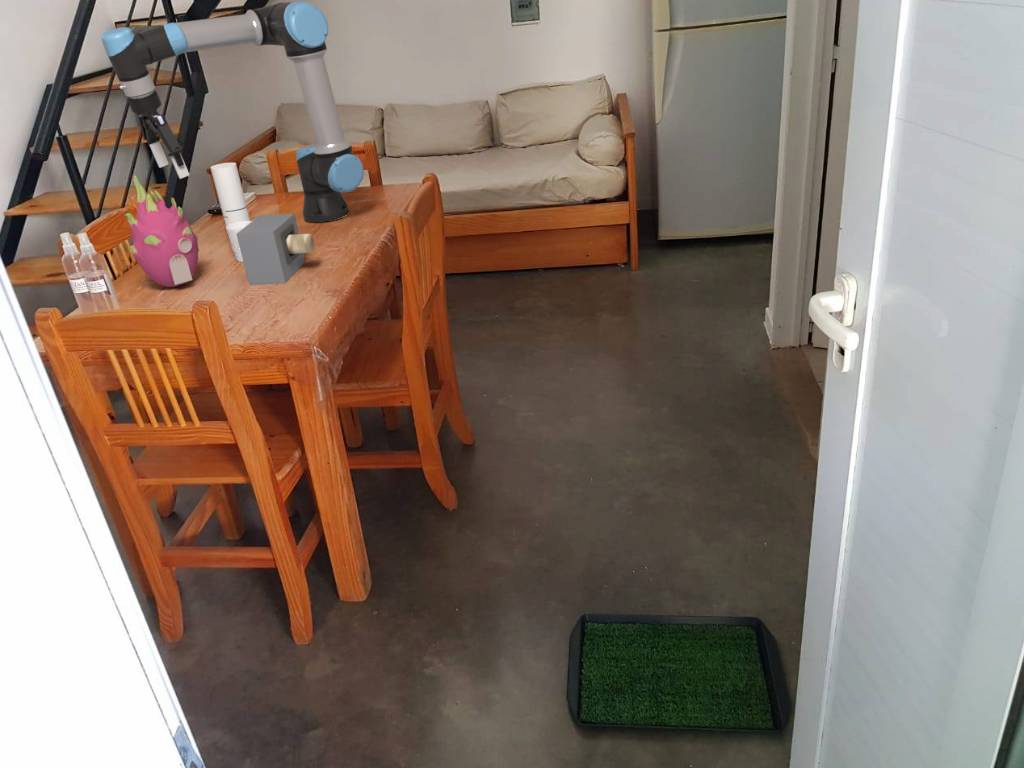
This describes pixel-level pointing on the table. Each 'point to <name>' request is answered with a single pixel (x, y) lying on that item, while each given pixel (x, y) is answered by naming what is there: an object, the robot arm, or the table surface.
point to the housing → (269, 249)
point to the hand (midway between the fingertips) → (174, 171)
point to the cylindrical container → (230, 193)
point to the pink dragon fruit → (162, 239)
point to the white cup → (232, 231)
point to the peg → (300, 243)
